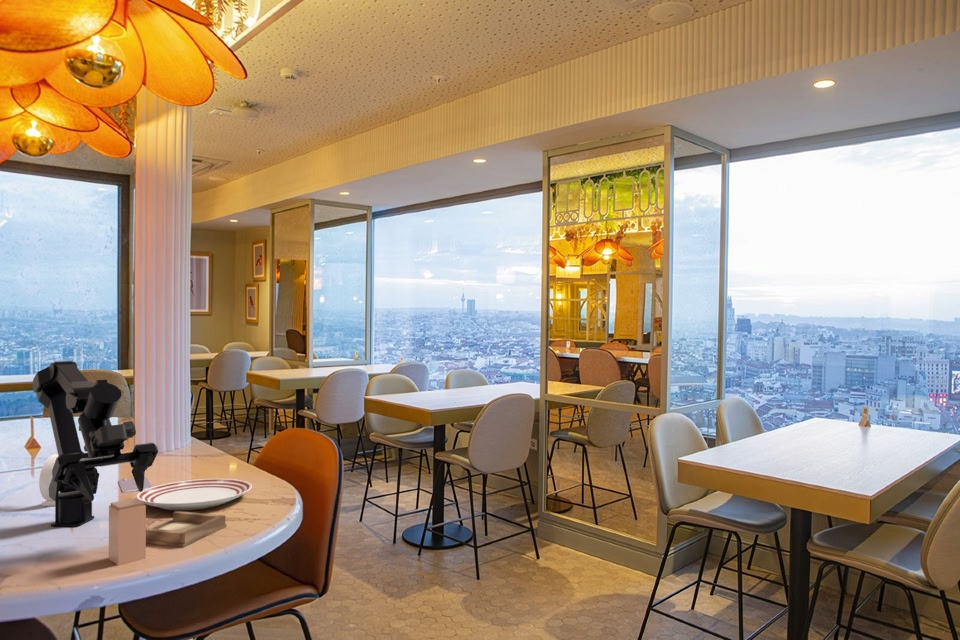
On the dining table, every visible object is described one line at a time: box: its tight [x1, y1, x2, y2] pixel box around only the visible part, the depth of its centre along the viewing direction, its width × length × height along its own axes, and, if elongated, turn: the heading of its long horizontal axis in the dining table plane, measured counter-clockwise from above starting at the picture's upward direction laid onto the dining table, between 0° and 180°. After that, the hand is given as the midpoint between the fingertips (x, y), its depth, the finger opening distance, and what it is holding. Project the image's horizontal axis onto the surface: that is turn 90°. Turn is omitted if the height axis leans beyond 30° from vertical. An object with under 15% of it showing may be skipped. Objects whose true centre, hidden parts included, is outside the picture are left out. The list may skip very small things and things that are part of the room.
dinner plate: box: [135, 478, 253, 511], centre depth 171 cm, size 28×27×3 cm
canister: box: [108, 497, 147, 566], centre depth 130 cm, size 5×5×11 cm
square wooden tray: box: [146, 510, 227, 548], centre depth 145 cm, size 14×14×3 cm
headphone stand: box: [38, 453, 60, 507], centre depth 168 cm, size 5×6×12 cm
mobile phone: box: [118, 476, 153, 494], centre depth 186 cm, size 8×1×15 cm
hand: (117, 495), depth 133 cm, fingers open, 9 cm apart
